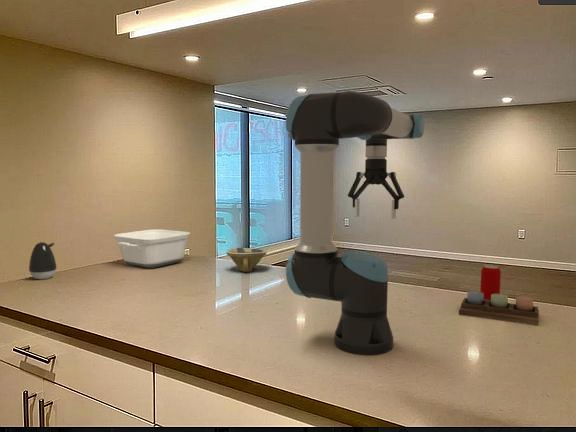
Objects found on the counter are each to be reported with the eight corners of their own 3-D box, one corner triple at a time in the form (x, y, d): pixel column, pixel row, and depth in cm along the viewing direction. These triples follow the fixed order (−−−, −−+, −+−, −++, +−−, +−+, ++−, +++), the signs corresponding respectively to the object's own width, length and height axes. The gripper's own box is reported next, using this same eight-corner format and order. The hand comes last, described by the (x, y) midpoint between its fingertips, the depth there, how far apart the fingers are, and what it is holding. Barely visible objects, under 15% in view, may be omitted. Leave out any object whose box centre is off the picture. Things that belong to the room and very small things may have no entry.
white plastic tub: (145, 274, 202) (144, 240, 201) (104, 266, 218) (103, 235, 216) (200, 261, 231) (199, 232, 229) (160, 255, 246) (159, 228, 245)
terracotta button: (532, 311, 139) (533, 301, 138) (515, 309, 141) (515, 299, 141) (533, 307, 143) (533, 297, 142) (515, 305, 145) (516, 295, 145)
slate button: (482, 304, 145) (482, 295, 145) (466, 302, 147) (466, 293, 147) (484, 301, 149) (484, 292, 149) (468, 299, 152) (468, 290, 151)
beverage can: (495, 303, 157) (497, 269, 156) (477, 300, 161) (478, 266, 160) (502, 300, 161) (503, 266, 160) (483, 296, 166) (485, 263, 164)
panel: (538, 325, 135) (538, 315, 135) (458, 314, 145) (459, 305, 145) (538, 314, 145) (539, 305, 145) (464, 304, 156) (464, 296, 156)
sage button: (507, 308, 142) (507, 298, 142) (490, 305, 144) (490, 296, 144) (508, 304, 146) (508, 294, 146) (491, 302, 148) (491, 292, 148)
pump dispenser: (62, 277, 196) (60, 241, 195) (38, 282, 188) (36, 244, 186) (48, 274, 202) (47, 239, 200) (24, 278, 193) (22, 242, 192)
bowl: (265, 275, 200) (265, 253, 199) (224, 274, 201) (223, 253, 200) (267, 266, 218) (267, 246, 217) (229, 266, 218) (229, 246, 217)
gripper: (413, 158, 163) (412, 218, 165) (347, 159, 174) (346, 215, 177) (408, 157, 156) (406, 220, 158) (339, 158, 168) (338, 216, 170)
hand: (374, 217), depth 167 cm, fingers open, 13 cm apart
